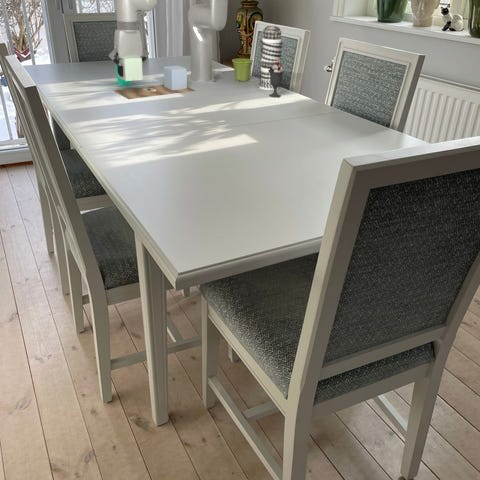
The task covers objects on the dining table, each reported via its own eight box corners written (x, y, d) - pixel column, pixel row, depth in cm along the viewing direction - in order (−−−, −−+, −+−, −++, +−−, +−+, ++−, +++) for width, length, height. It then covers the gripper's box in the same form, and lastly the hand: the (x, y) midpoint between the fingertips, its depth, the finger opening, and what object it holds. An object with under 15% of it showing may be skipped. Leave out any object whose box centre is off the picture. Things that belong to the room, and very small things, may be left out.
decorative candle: (276, 91, 219) (280, 29, 207) (255, 89, 222) (258, 27, 209) (281, 87, 227) (286, 26, 214) (262, 84, 229) (265, 24, 217)
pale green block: (135, 75, 204) (134, 54, 201) (142, 79, 200) (141, 58, 196) (118, 77, 201) (117, 56, 197) (125, 81, 196) (124, 59, 192)
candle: (130, 87, 216) (128, 58, 210) (116, 87, 216) (113, 57, 210) (133, 84, 222) (131, 55, 216) (119, 83, 221) (116, 54, 216)
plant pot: (237, 83, 230) (238, 63, 226) (228, 78, 238) (228, 59, 233) (255, 81, 234) (256, 61, 230) (245, 77, 242) (246, 57, 237)
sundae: (284, 95, 215) (287, 57, 207) (280, 98, 209) (283, 60, 202) (269, 93, 216) (271, 56, 209) (264, 96, 211) (267, 58, 203)
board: (178, 85, 223) (178, 81, 222) (196, 93, 212) (196, 89, 211) (113, 93, 208) (113, 89, 207) (128, 101, 197) (128, 97, 196)
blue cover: (178, 84, 219) (178, 65, 215) (186, 88, 215) (186, 68, 211) (164, 86, 216) (163, 66, 212) (172, 90, 211) (171, 70, 207)
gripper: (144, 24, 198) (146, 71, 207) (101, 25, 189) (105, 75, 198) (153, 26, 193) (154, 75, 201) (109, 28, 184) (113, 79, 193)
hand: (130, 74), depth 200 cm, fingers closed on pale green block, 7 cm apart
